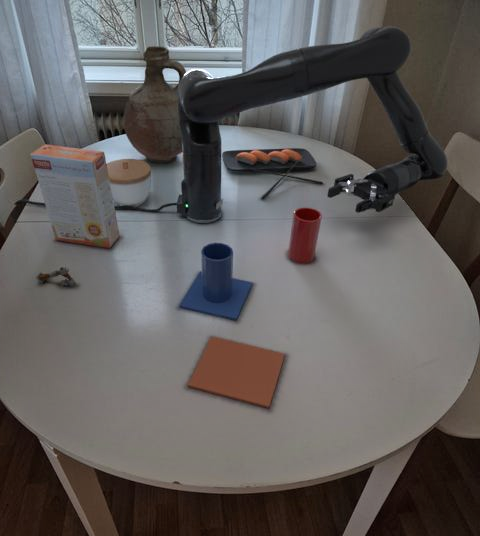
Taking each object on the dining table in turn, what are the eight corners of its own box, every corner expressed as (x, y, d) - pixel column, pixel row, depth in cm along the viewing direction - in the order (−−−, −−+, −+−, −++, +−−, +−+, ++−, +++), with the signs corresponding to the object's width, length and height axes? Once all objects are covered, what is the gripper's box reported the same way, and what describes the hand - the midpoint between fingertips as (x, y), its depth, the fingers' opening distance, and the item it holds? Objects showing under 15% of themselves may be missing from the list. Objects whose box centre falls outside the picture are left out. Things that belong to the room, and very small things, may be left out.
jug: (131, 143, 145) (117, 39, 125) (194, 143, 148) (191, 41, 127) (125, 171, 130) (108, 58, 109) (197, 170, 132) (193, 59, 111)
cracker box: (120, 236, 104) (105, 150, 90) (109, 249, 100) (92, 161, 85) (68, 227, 106) (44, 142, 92) (54, 240, 102) (28, 152, 87)
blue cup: (198, 301, 88) (196, 257, 80) (208, 283, 92) (207, 240, 84) (226, 308, 87) (227, 263, 79) (235, 289, 91) (236, 246, 83)
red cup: (285, 260, 99) (291, 218, 92) (291, 246, 104) (297, 205, 96) (311, 266, 98) (319, 223, 91) (315, 251, 102) (323, 210, 95)
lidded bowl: (97, 206, 114) (88, 166, 106) (123, 186, 123) (117, 148, 115) (138, 217, 111) (132, 176, 103) (162, 196, 120) (159, 156, 112)
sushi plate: (305, 153, 145) (307, 141, 142) (334, 195, 123) (337, 183, 121) (220, 156, 140) (220, 144, 138) (235, 200, 119) (235, 187, 116)
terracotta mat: (187, 387, 72) (187, 384, 71) (211, 338, 80) (211, 336, 80) (269, 408, 69) (269, 406, 69) (284, 355, 78) (285, 353, 77)
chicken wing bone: (76, 286, 88) (63, 268, 86) (48, 293, 91) (34, 276, 89) (81, 281, 90) (68, 263, 87) (52, 287, 93) (39, 271, 90)
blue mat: (179, 307, 86) (179, 305, 86) (200, 273, 95) (200, 271, 94) (236, 320, 84) (236, 318, 84) (252, 284, 92) (252, 282, 92)
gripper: (367, 157, 107) (322, 174, 100) (415, 178, 100) (371, 198, 92) (360, 185, 113) (317, 203, 105) (406, 207, 105) (363, 228, 97)
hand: (342, 200), depth 99 cm, fingers open, 8 cm apart
